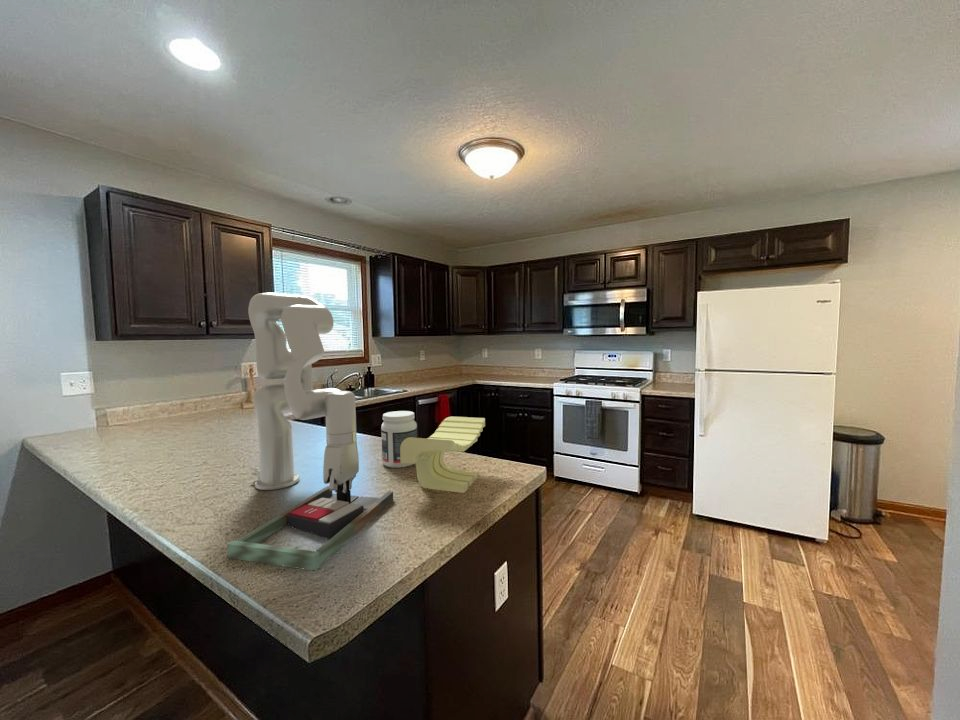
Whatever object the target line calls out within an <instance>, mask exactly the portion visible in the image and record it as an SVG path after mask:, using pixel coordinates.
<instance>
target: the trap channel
mask: <svg viewBox="0 0 960 720" xmlns="http://www.w3.org/2000/svg"><path fill="white" fill-rule="evenodd" d="M320 498H328V499H334V501H335V500H337V493H333V491H331V490H329V485H327V486H325V487H324V488H321V489H320V490H319V491H317V492H315V493H314V494H312V495H310V496H308V497H307V498H305V499H304V500H302V501H300V502H297V504H295V505H293V506H292V507H289V508H288V509H287V510H285V511H284V512H282V513H280V514H279V515H277V516H275V517H273V518H272V519H270V520H269V521H267V522H265V523H264V524H262V525H260V526H258V527H257V528H255V529H254V530H251V531H250V532H249V533H247V534H245V535H244V536H242V537H240V538H238V539H237V540H234V539H233V540H231V541H229V542H228V543H226V547H227V558H228V559H233V560H240V561H247V562H253V563H254V562H255V563H259V562H261V564H266V563H268V565H273V564H275V565H274V566H279V565H284V566H283V567H286V566H289V568H293V567H298V568H297V569H299V568H304V569H303V570H306V569H309V570H308V571H312V570H315V571H317V570H318V567H319V566H320V565H321V564H322V565H324V563H326V562H327V561H328V560H329V559H330V558H331V557H332V556H333V555H334V554H336V553H337V551H339V550H340V549H341V548H342V547H343V546H345V545H346V543H348V542H349V541H350V540H351V539H352V538H353V537H354V536H356V535H357V534H358V533H359V532H360V531H362V529H363V528H364V527H365V526H367V525H366V524H367V523H368V522H369V523H370V522H371V521H372V520H373V519H374V518H376V517H377V516H378V515H379V514H380V513H381V512H382V511H383V510H384V509H386V506H390V504H391V503H393V502H394V492H393V491H387V492H386V493H384V494H383V495H382V496H380V497H371V496H364V495H363V496H361V495H360V496H358V495H352V494H351V503H352V504H358V505H361V506H363V507H364V509H365V510H364V512H363V513H361V514H360V515H359V516H358V517H356V518H355V519H354V520H353V521H352V522H350V523H349V524H348V525H347V526H346V527H344V528H343V529H342V530H341V531H339V532H338V533H337V534H336V535H335V536H333V537H332V538H331V539H328V541H326V542H324V544H322V545H321V546H320V547H319V548H317V549H316V550H315V551H314V550H310V549H309V550H307V549H300V548H293V547H286V546H285V547H284V546H278V545H273V544H272V545H271V544H265V543H260V542H261V541H263V540H265V539H266V538H268V537H269V536H271V535H272V533H273V534H274V533H275V531H276V532H277V531H279V530H280V529H282V528H284V527H285V526H286V525H288V523H287V515H288V514H290V512H292V511H294V510H296V509H298V508H300V507H302V506H305V505H307V506H308V504H309V503H311V502H313V501H316V500H318V499H320ZM377 514H378V515H377ZM376 515H377V516H376ZM369 523H368V524H369ZM281 527H282V528H281ZM278 529H279V530H278ZM359 530H360V531H359ZM358 531H359V532H358ZM357 532H358V533H357ZM348 540H349V541H348ZM347 541H348V542H347ZM329 557H330V558H329ZM328 558H329V559H328ZM327 559H328V560H327ZM322 565H321V566H322ZM321 566H320V567H321ZM320 567H319V568H320Z"/></svg>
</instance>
